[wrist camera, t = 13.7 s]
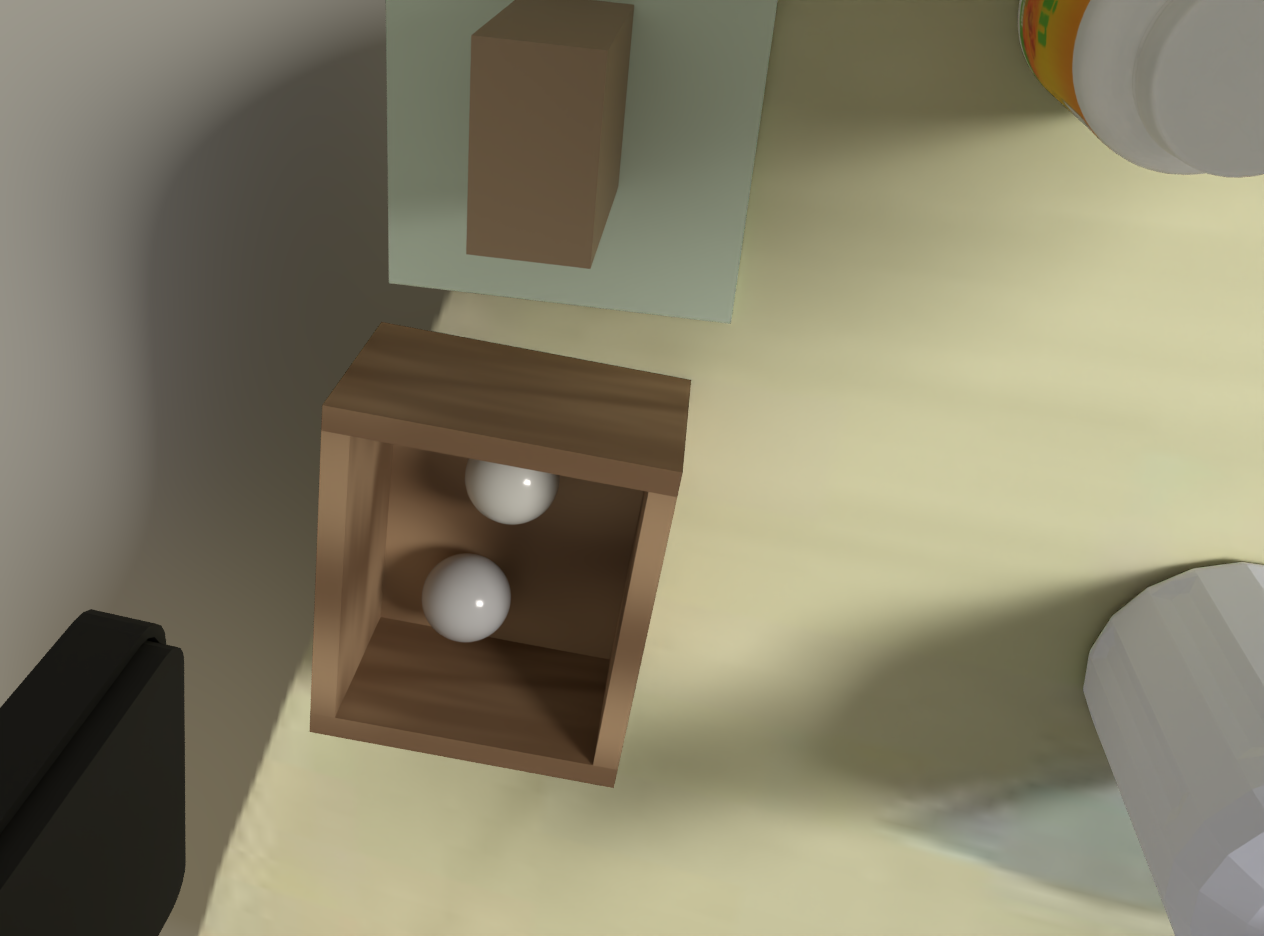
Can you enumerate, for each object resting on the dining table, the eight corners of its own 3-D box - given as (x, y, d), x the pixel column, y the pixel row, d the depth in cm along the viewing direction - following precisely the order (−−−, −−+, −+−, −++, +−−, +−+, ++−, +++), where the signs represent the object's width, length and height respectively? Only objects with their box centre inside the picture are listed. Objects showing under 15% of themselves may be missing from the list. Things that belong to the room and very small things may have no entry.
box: (381, 321, 37) (322, 405, 32) (691, 380, 37) (682, 472, 32) (362, 620, 43) (309, 731, 38) (629, 669, 43) (613, 787, 38)
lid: (392, -183, 30) (290, -183, 24) (796, -140, 30) (811, -126, 23) (395, 274, 37) (316, 378, 30) (731, 314, 36) (727, 428, 30)
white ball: (479, 406, 38) (460, 450, 35) (571, 423, 38) (558, 469, 35) (470, 485, 39) (451, 533, 36) (559, 501, 39) (546, 550, 36)
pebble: (436, 529, 40) (415, 578, 37) (522, 544, 40) (507, 596, 37) (429, 598, 41) (408, 651, 39) (512, 614, 41) (497, 668, 39)
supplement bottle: (1096, -150, 29) (1240, -135, 21) (1272, -48, 30) (1480, 7, 21) (973, 52, 32) (1057, 139, 23) (1139, 142, 32) (1278, 257, 24)
